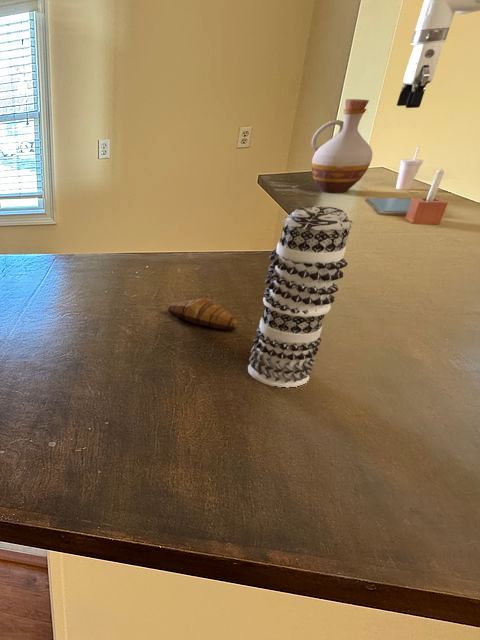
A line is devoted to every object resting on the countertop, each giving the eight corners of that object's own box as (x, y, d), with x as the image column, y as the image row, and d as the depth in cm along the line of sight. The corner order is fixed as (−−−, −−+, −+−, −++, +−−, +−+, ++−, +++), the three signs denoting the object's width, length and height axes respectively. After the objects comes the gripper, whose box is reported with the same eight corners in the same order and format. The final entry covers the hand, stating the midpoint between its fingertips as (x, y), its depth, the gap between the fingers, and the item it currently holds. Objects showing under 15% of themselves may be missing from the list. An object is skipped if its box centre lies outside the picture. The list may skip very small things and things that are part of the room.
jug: (294, 193, 177) (315, 102, 162) (305, 184, 189) (326, 98, 174) (357, 197, 166) (386, 99, 151) (365, 188, 177) (393, 96, 162)
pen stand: (432, 218, 139) (440, 197, 136) (439, 224, 134) (448, 202, 131) (405, 218, 141) (412, 197, 138) (411, 223, 136) (419, 201, 133)
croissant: (244, 325, 89) (249, 301, 86) (228, 338, 85) (232, 313, 83) (177, 307, 98) (180, 284, 95) (159, 318, 94) (162, 295, 91)
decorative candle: (254, 388, 71) (294, 220, 59) (238, 358, 79) (270, 203, 67) (321, 390, 70) (377, 218, 57) (298, 359, 77) (343, 201, 65)
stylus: (424, 220, 138) (443, 169, 131) (426, 221, 137) (445, 170, 130) (417, 220, 138) (436, 169, 131) (419, 221, 137) (438, 170, 130)
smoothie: (414, 190, 169) (429, 147, 162) (392, 190, 172) (406, 148, 165) (412, 187, 173) (427, 145, 166) (390, 186, 176) (403, 145, 169)
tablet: (416, 201, 156) (417, 198, 156) (436, 216, 141) (437, 212, 140) (365, 200, 162) (366, 197, 161) (379, 214, 146) (380, 211, 145)
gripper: (457, 34, 125) (432, 107, 134) (435, 37, 139) (414, 104, 147) (422, 37, 128) (399, 109, 137) (404, 40, 142) (385, 105, 150)
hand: (407, 106), depth 142 cm, fingers open, 9 cm apart
